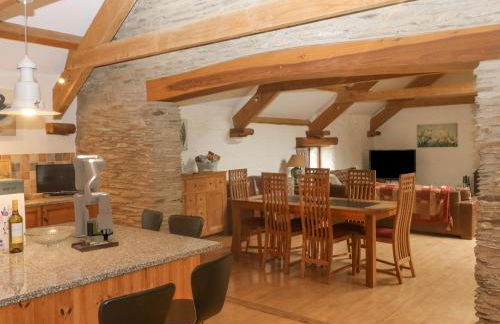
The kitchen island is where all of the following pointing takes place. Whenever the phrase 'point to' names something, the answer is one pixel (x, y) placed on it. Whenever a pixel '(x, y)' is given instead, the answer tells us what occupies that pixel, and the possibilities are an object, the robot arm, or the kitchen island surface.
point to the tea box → (95, 230)
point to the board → (86, 247)
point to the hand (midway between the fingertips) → (105, 239)
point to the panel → (98, 241)
